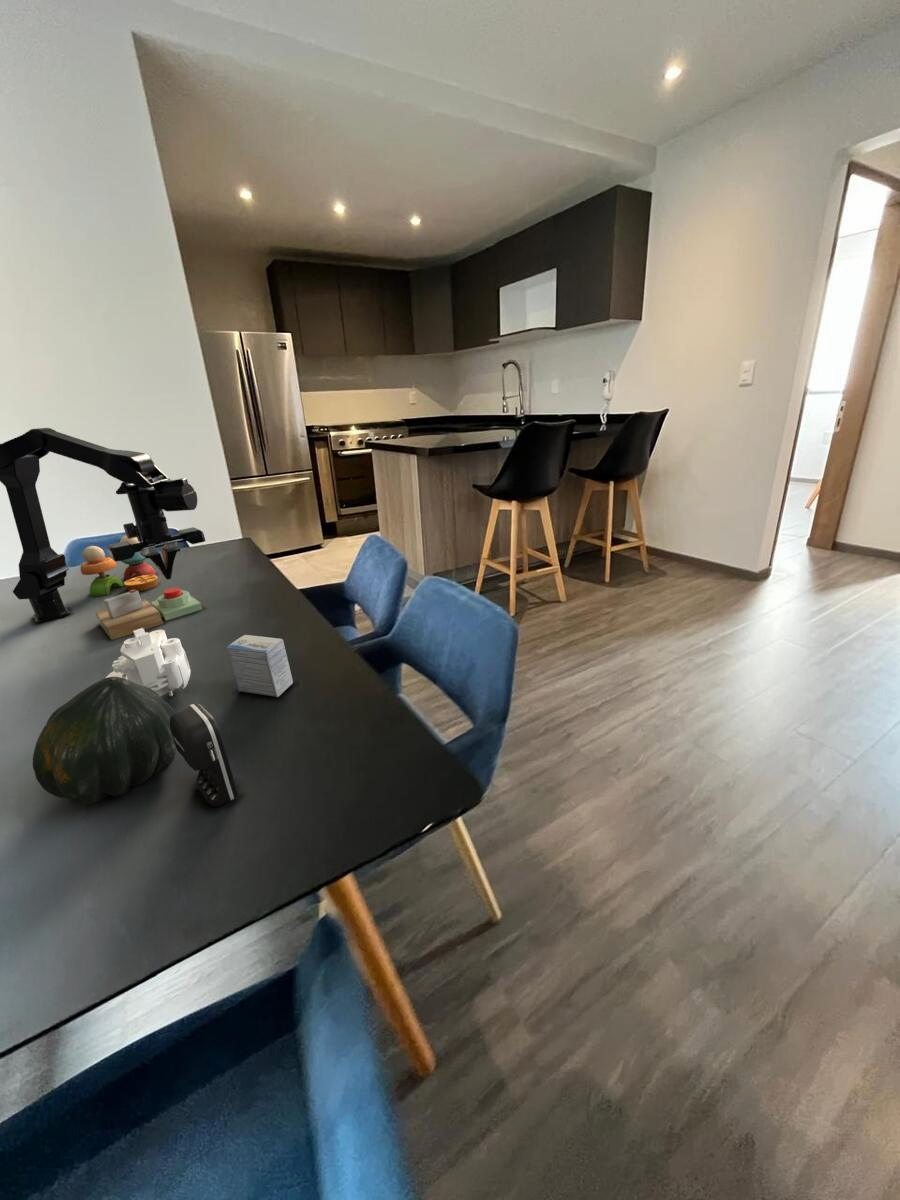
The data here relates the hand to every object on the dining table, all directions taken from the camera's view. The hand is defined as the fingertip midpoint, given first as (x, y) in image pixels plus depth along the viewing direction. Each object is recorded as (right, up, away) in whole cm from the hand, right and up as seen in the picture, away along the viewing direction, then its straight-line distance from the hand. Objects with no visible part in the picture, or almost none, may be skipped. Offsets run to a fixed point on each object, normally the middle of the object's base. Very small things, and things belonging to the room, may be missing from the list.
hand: (168, 579), depth 114 cm
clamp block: (-6, -10, -4) cm, 13 cm away
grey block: (-6, -8, -5) cm, 11 cm away
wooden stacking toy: (-23, 0, +23) cm, 32 cm away
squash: (+23, -28, -50) cm, 62 cm away
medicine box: (+35, -20, -32) cm, 52 cm away
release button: (0, -4, +2) cm, 5 cm away
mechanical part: (+17, -21, -34) cm, 43 cm away
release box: (0, -7, +3) cm, 8 cm away
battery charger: (+37, -29, -54) cm, 71 cm away
